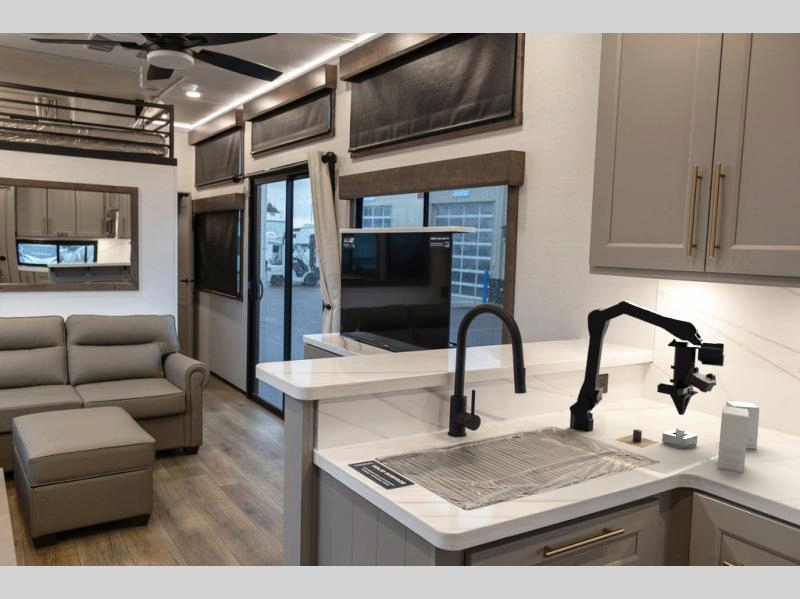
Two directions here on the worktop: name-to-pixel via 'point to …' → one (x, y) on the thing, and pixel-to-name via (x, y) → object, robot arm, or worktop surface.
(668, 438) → the collar
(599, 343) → the robot arm
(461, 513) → the worktop surface
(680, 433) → the hub
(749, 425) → the supplement box
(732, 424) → the skincare box
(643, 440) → the stand
